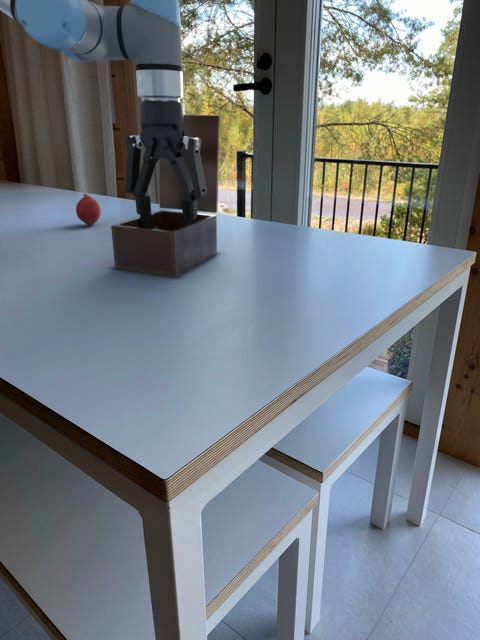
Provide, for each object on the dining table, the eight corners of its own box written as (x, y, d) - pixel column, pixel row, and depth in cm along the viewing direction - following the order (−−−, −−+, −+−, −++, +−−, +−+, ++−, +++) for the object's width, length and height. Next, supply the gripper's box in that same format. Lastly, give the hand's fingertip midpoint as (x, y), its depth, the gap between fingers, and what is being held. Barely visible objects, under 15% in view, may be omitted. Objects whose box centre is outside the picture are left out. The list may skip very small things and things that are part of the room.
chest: (176, 277, 81) (174, 232, 78) (115, 268, 86) (110, 225, 83) (216, 254, 95) (216, 215, 92) (162, 247, 100) (160, 210, 97)
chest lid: (218, 115, 86) (220, 115, 87) (159, 114, 91) (161, 114, 91) (215, 212, 92) (217, 212, 93) (159, 207, 96) (161, 207, 97)
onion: (89, 222, 122) (85, 190, 119) (107, 224, 119) (103, 192, 116) (73, 226, 117) (68, 193, 114) (91, 229, 115) (87, 195, 112)
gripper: (227, 101, 79) (227, 235, 88) (121, 101, 86) (131, 225, 95) (207, 99, 73) (209, 244, 82) (95, 99, 80) (108, 232, 89)
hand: (167, 234), depth 88 cm, fingers closed on egg carton, 8 cm apart
